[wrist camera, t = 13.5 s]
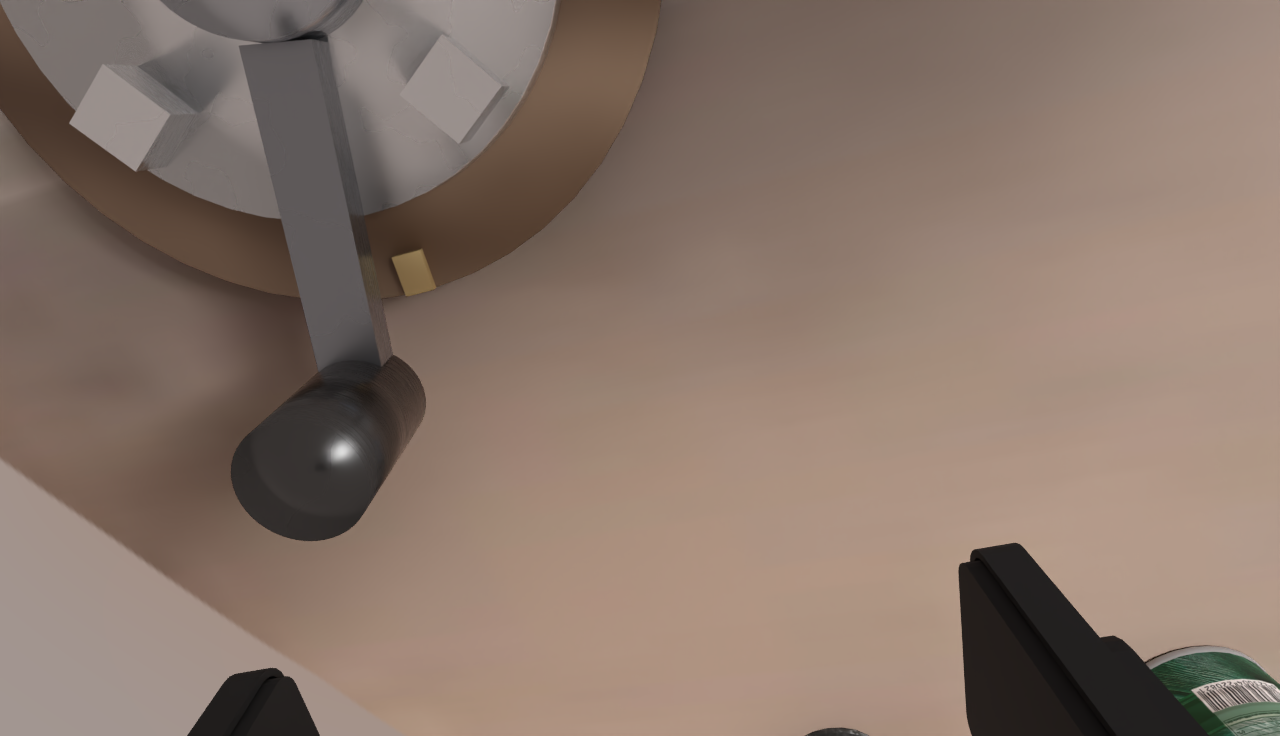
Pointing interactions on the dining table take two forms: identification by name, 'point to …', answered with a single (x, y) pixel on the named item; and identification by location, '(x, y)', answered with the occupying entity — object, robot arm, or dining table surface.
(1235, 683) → the canned tomato
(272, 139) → the crank handle
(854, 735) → the gray candlestick
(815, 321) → the dining table surface
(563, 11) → the base
